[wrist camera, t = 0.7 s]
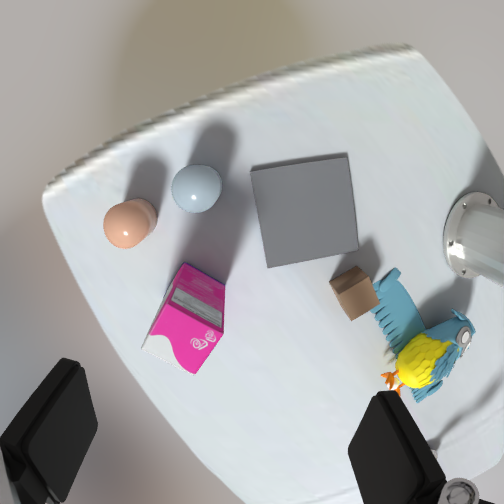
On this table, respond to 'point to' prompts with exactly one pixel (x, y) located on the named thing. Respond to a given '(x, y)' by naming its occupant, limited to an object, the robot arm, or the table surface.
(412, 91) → the table surface
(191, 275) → the supplement box
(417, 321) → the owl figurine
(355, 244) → the coaster
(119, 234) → the peach dome cap
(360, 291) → the walnut block
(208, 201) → the pale blue dome knob
